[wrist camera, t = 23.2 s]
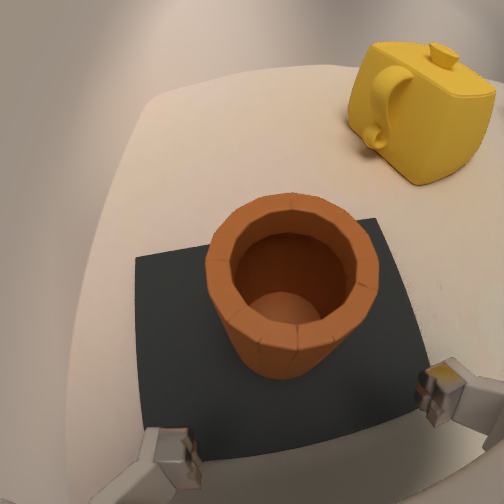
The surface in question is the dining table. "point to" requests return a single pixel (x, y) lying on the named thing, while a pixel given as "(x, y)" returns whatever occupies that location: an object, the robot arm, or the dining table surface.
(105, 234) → the dining table surface
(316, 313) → the jar
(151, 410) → the mat
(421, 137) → the teapot
